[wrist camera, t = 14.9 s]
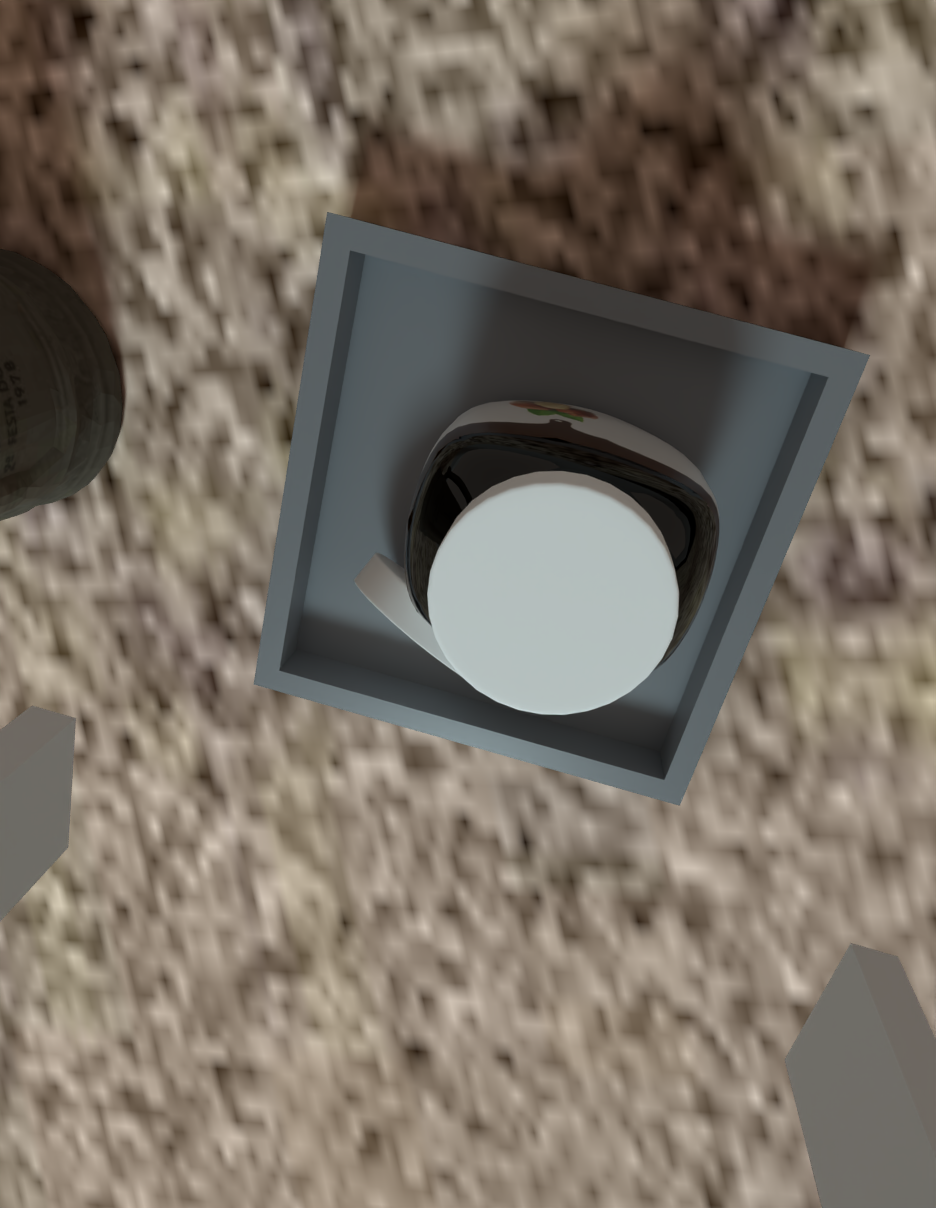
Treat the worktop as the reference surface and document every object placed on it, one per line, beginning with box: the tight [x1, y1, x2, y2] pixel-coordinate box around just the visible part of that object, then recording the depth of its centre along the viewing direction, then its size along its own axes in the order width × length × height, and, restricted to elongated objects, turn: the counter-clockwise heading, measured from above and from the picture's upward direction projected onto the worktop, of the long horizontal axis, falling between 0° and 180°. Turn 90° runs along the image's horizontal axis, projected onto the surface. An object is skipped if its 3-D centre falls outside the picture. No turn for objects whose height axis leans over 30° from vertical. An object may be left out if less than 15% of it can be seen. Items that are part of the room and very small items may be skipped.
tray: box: [254, 212, 870, 806], centre depth 33 cm, size 19×19×3 cm
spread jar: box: [354, 400, 719, 715], centre depth 28 cm, size 12×11×12 cm
